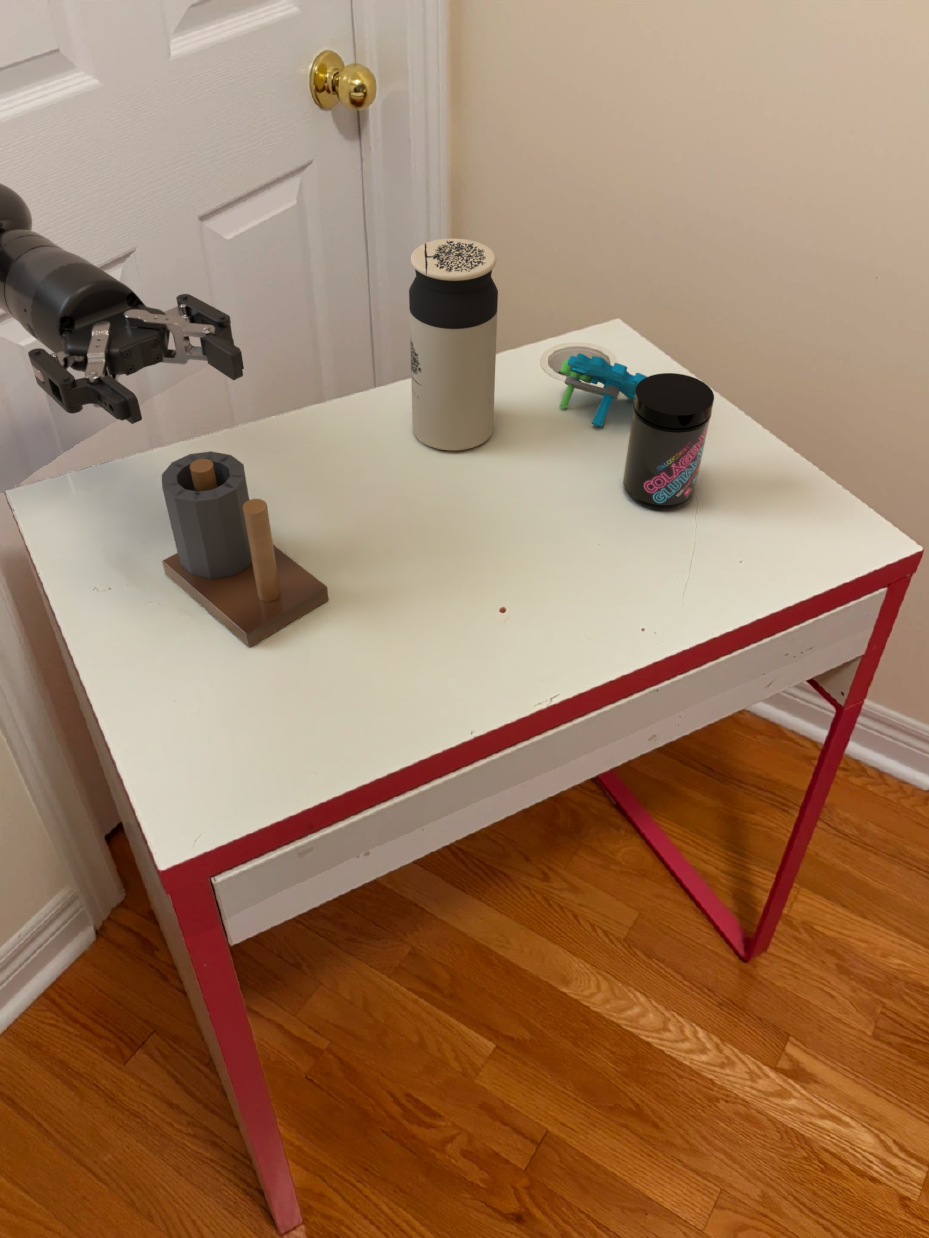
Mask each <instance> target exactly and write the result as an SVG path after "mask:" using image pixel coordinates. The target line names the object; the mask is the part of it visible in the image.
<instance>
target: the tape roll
mask: <svg viewBox="0 0 929 1238" xmlns="http://www.w3.org/2000/svg"><path fill="white" fill-rule="evenodd" d="M198 459H208V460H210V461H212V462H213V465H214V471H215V476H216V481H217V486H218V487H217V488H215V489H213V490H207V491H200V492H196V491H195V490H194V485H193V480H192V475H191V471H190V465H191V463H192V462H194V461H195V460H198ZM246 477H247V476H246V471H245V466H244V463H242V462H241V461H240V460H238V459H237V458H236V457H235V456H233V455H232V454H227V453H222V452H217V451H212V450H211V451H204V452H203V451H202V452H195V453H189V454H186V455H184V456H183V457H180V458H178V459H176V460H174V461H172V462H171V463H170V464H169V465H168V467H167V468H166V469H165V470H164V471H163V473H162V474H161V477H160V478H161V489H162V493H163V497H164V501H165V506H166V511H167V515H168V519H169V522H170V527H171V531H172V535H173V539H174V543H175V548H176V553H178V557H179V561H180V565H181V566H182V567H184V568H185V569H186V570H187V571H188V572H189V573H190V574H192V575H195V576H199V577H204V578H209V579H215V578H222V577H228V576H233V575H235V574H237V573H238V572H240V571H242V570H244V569H246V568H248V567H249V566H250V565H251V563H252V559H251V553H250V547H249V542H248V536H247V530H246V524H245V518H244V513H243V505H244V503H245V502H247V501H248V500H250V497H249V495H250V494H249V490H248V484H247V478H246Z"/></svg>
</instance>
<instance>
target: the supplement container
mask: <svg viewBox="0 0 929 1238" xmlns="http://www.w3.org/2000/svg"><path fill="white" fill-rule="evenodd" d="M714 402H715V394H714V392H713V389H711V387H710V386H709V385H708V384H707V383H705V382H704V381H702V380H700V379H699V378H696V377H694V376H691V375H687V374H682V373H674V372H663V373H656V374H651V375H649V376H647V377H646V378H644V379H643V380H641V381H640V382H639V383H638V385H637V387H636V391H635V398H634V400H633V403H632V414H631V423H630V429H629V435H628V443H627V450H626V457H625V463H624V472H623V478H622V485H623V486H622V487H623V489H624V491H625V494H626V495H627V496H628V498H630V499H631V500H632V501H633V502H634V503H635V504H637V505H639V506H641V507H644V508H647V509H650V510H655V511H670V510H675V509H678V508H681V507H683V506H684V505H686V504H687V503H689V502H690V500H691V499H692V498H693V496H694V495H695V493H696V489H697V484H698V478H699V474H700V470H701V463H702V459H703V454H704V449H705V443H706V439H707V434H708V430H709V424H710V420H711V417H712V413H713V406H714Z"/></svg>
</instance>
